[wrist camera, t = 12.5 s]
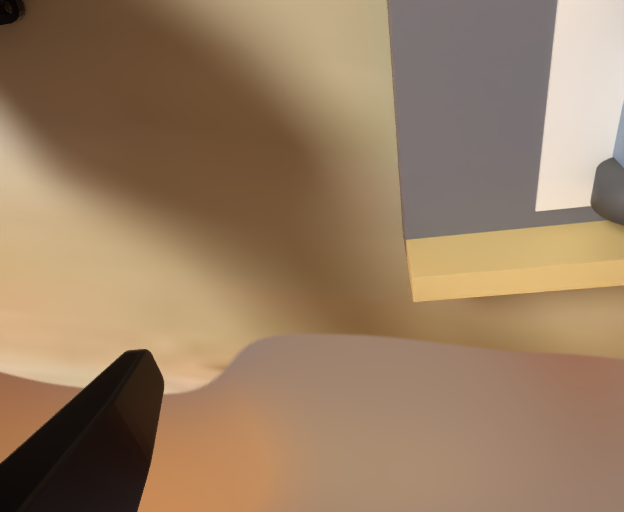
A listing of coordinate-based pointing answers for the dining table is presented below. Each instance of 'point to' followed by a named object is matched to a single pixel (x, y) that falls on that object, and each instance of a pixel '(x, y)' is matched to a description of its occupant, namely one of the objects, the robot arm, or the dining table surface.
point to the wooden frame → (506, 143)
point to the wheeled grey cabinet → (611, 181)
